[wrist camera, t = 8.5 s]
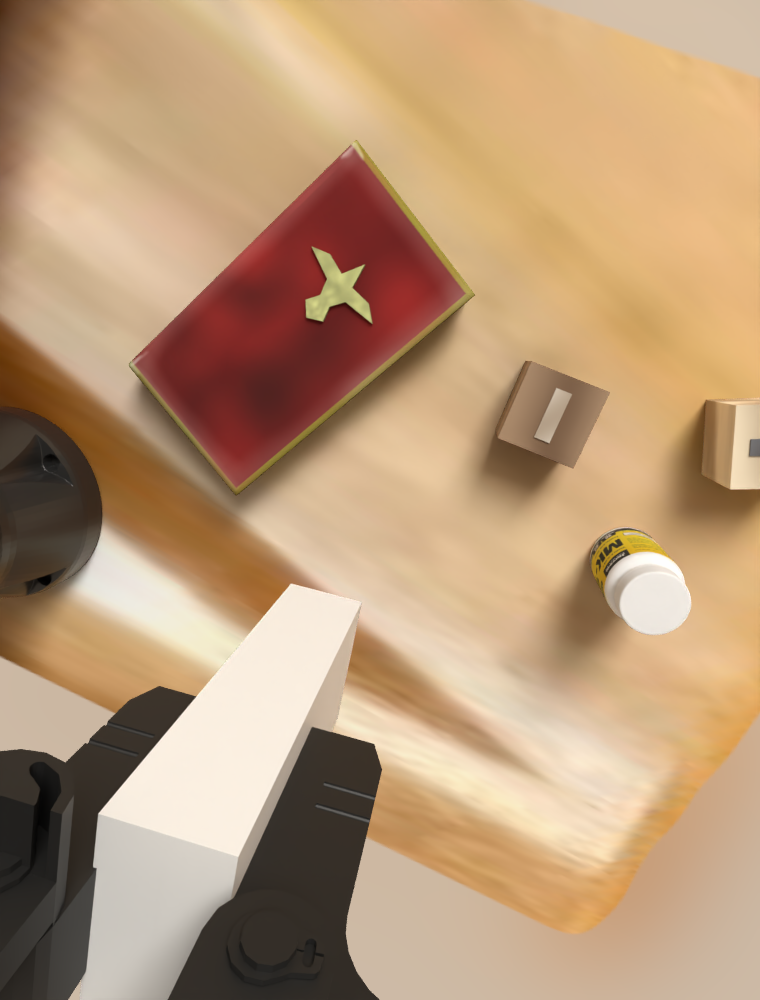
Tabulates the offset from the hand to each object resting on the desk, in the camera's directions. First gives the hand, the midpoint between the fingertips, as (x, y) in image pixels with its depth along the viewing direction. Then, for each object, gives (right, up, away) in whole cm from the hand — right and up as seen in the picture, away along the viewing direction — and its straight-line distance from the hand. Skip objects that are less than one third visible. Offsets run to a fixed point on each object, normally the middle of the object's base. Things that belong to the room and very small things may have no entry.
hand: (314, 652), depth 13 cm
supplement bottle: (+19, -1, +31) cm, 36 cm away
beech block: (+25, +7, +28) cm, 38 cm away
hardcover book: (-4, +15, +32) cm, 35 cm away
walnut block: (+13, +9, +30) cm, 33 cm away
